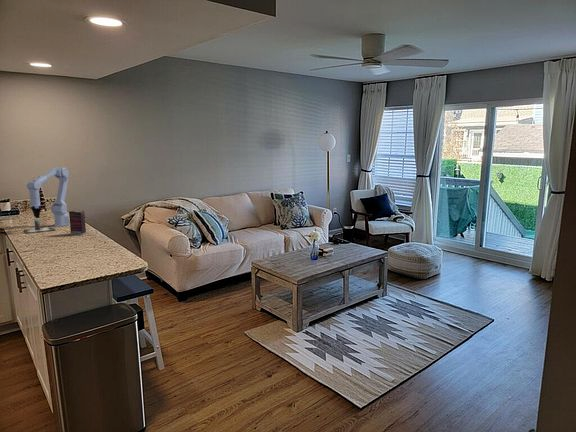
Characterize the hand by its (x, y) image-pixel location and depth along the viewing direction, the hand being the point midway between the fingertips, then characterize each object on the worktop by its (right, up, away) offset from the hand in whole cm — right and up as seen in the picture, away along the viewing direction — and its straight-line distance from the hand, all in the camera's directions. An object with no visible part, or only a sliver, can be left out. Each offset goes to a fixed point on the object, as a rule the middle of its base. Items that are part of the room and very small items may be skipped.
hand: (36, 217), depth 282 cm
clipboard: (+1, -10, +1) cm, 10 cm away
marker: (0, -9, +1) cm, 9 cm away
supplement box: (+34, -12, -7) cm, 36 cm away
